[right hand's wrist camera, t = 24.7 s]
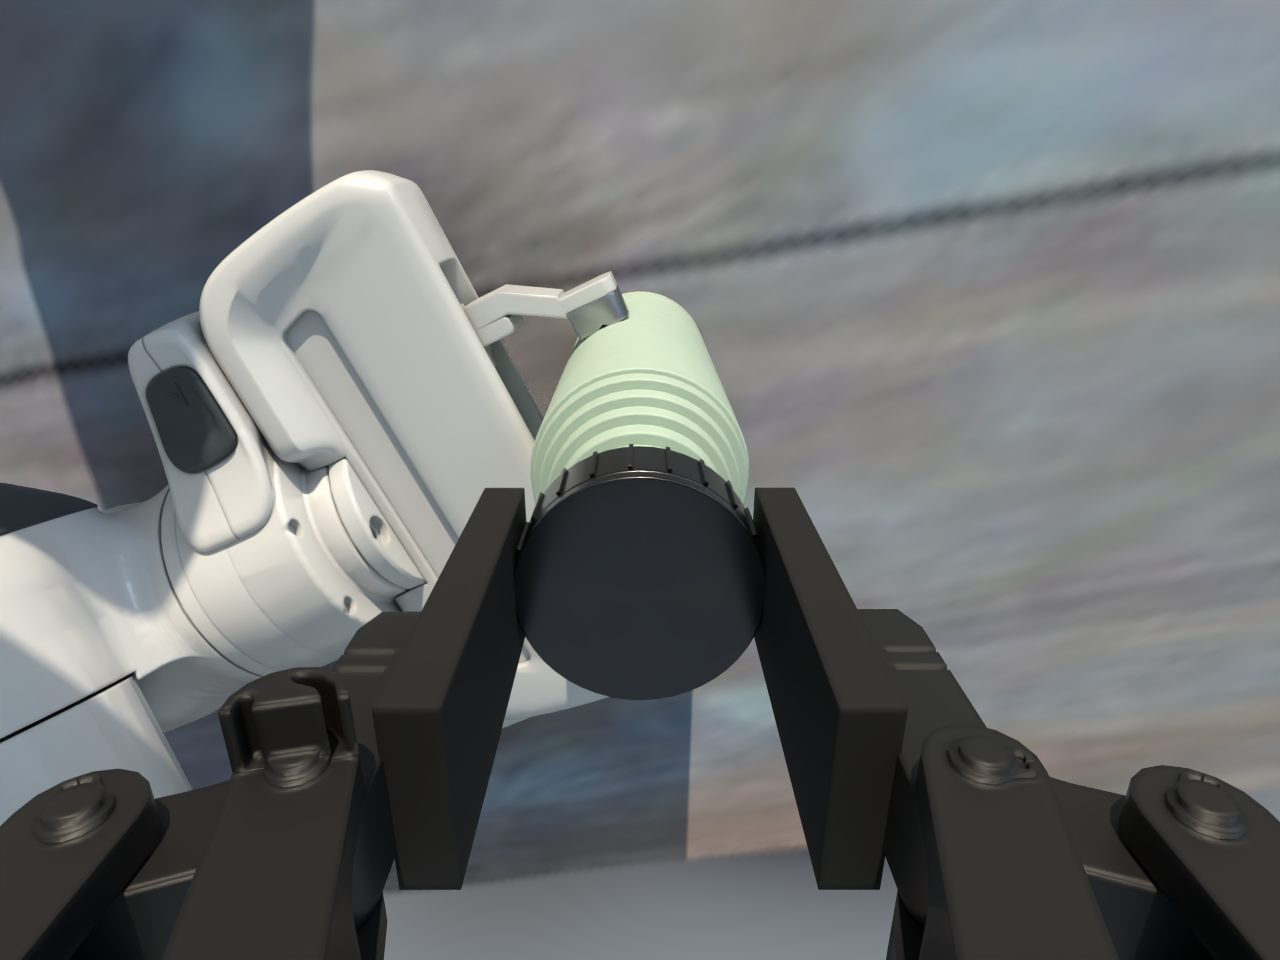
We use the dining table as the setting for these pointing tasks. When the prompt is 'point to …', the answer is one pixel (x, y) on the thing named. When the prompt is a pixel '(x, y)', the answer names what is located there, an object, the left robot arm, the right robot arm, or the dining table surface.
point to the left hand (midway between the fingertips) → (662, 383)
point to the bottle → (641, 397)
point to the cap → (639, 574)
